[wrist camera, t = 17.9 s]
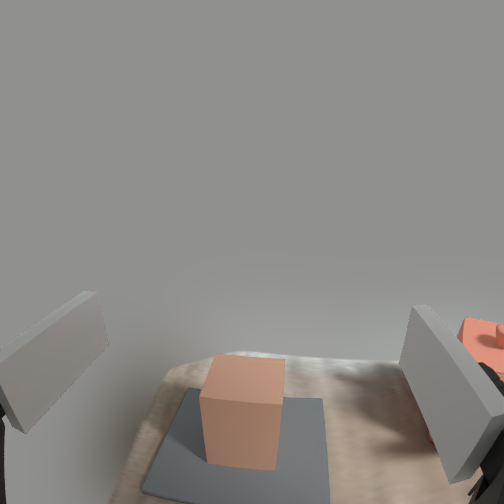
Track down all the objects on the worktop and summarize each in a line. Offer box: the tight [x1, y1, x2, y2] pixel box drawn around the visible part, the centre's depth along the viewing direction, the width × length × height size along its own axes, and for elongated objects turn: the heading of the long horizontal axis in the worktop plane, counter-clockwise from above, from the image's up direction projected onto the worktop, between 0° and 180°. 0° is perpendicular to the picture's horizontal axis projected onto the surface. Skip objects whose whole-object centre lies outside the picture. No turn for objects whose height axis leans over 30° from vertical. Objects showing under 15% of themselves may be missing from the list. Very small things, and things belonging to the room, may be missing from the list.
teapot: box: [429, 317, 504, 441], centre depth 26 cm, size 20×22×14 cm
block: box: [199, 354, 285, 471], centre depth 29 cm, size 7×7×10 cm
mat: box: [141, 388, 330, 504], centre depth 30 cm, size 18×18×1 cm
